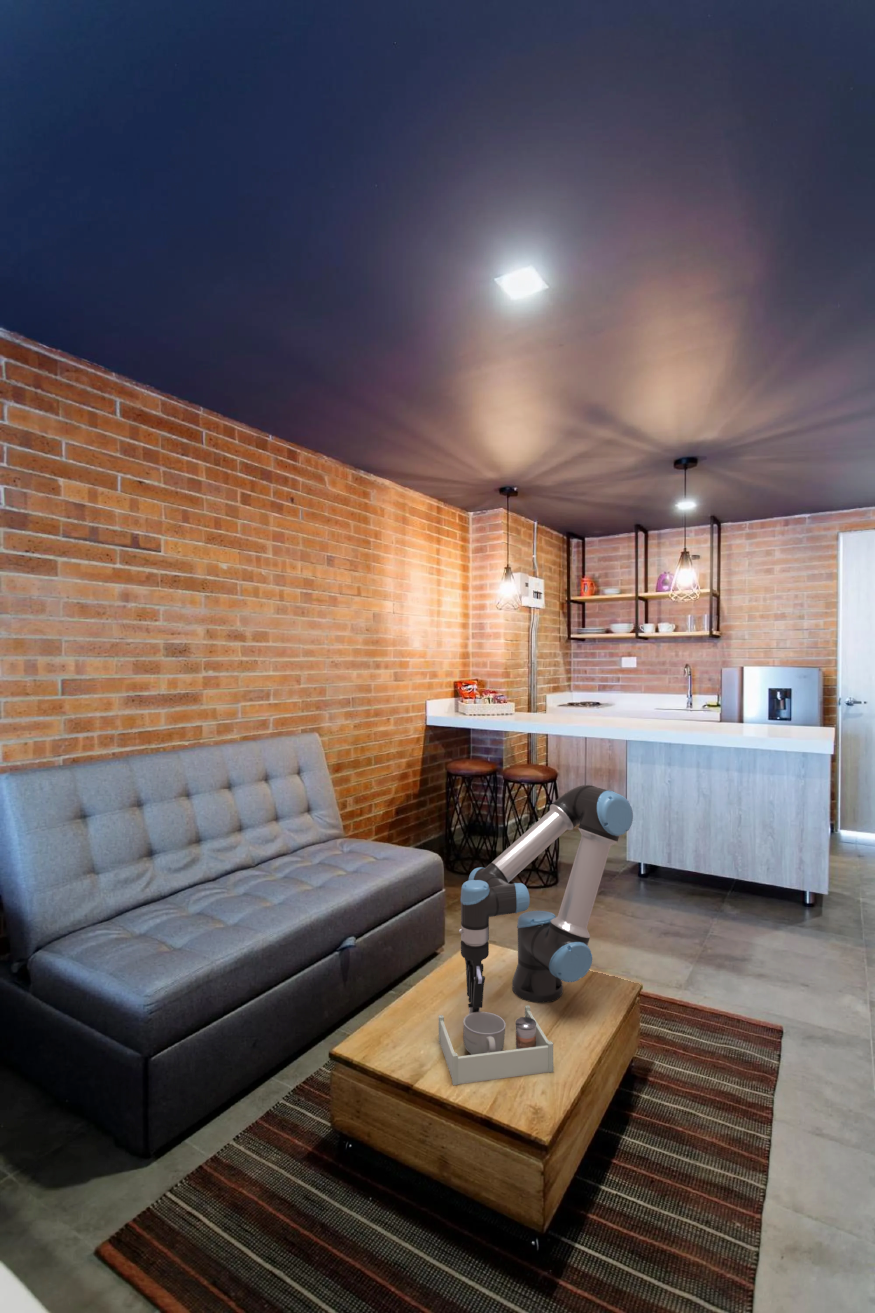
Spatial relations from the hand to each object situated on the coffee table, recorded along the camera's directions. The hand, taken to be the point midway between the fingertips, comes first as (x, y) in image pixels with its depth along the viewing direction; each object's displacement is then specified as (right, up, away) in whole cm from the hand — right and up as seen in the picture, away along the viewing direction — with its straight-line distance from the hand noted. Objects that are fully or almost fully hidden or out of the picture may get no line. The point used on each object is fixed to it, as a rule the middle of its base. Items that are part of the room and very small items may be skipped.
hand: (474, 1028), depth 172 cm
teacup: (+2, -2, -10) cm, 10 cm away
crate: (+4, -1, -10) cm, 11 cm away
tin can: (+13, -1, -9) cm, 16 cm away
